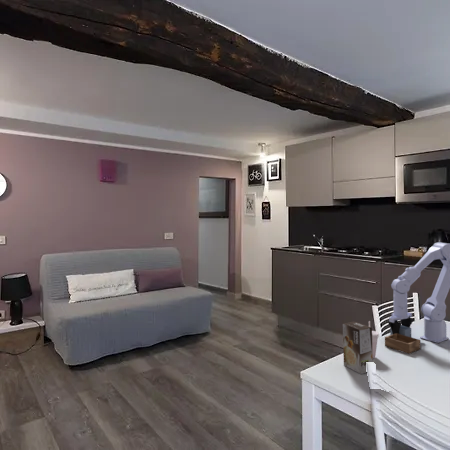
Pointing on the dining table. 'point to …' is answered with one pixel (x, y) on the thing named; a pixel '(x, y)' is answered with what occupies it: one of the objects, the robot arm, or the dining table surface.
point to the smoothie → (374, 341)
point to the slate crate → (403, 331)
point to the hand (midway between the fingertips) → (400, 335)
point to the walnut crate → (402, 343)
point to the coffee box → (357, 346)
